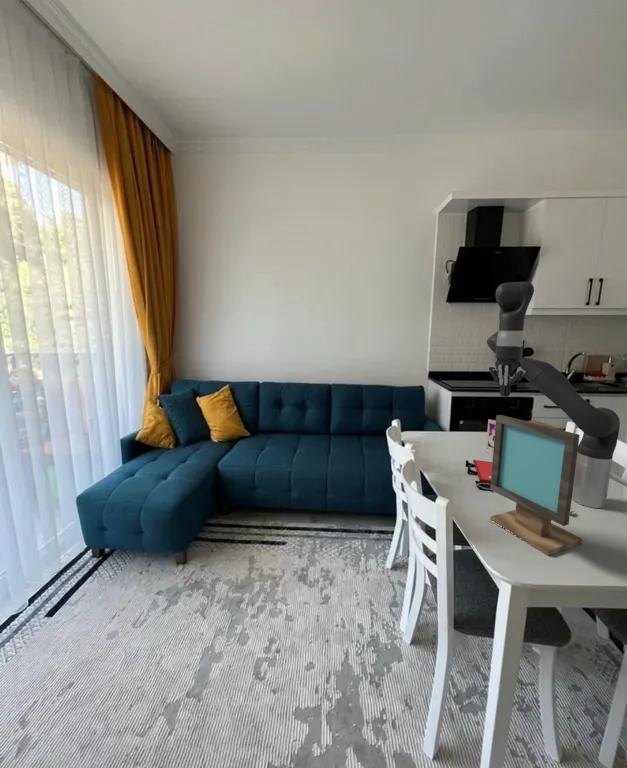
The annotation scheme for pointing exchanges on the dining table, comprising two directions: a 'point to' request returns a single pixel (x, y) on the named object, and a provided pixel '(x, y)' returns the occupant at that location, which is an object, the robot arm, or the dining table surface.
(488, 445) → the greeting card
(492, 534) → the dining table surface
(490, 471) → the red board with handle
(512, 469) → the picture frame
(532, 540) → the framed display stand
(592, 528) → the dining table surface
